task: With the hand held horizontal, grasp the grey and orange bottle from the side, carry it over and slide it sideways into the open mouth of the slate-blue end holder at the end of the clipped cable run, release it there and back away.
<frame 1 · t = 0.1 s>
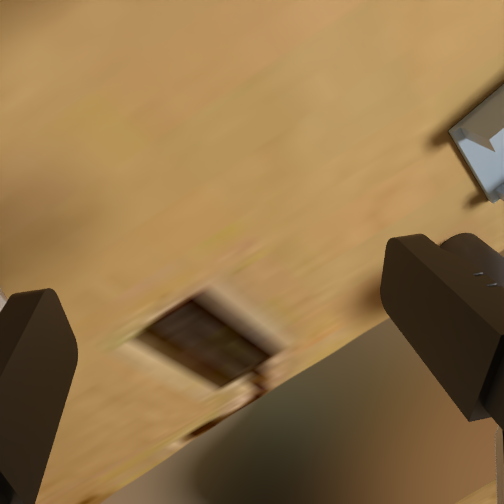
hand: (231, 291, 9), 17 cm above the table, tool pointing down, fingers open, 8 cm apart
grey and orange bottle: (456, 253, 34), on the table
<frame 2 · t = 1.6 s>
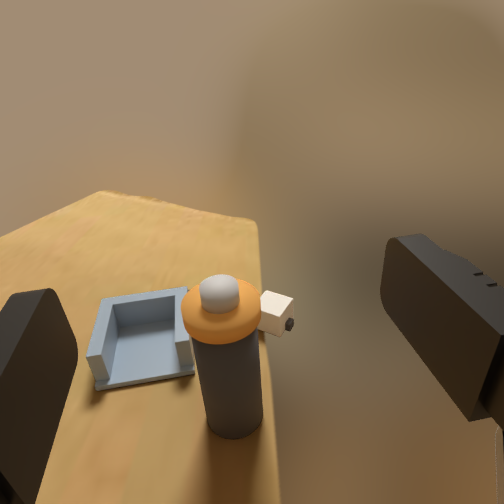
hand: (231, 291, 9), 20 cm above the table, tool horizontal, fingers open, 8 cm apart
end holder: (149, 347, 36), on the table
grey and orange bottle: (234, 412, 29), on the table
routed cable: (216, 307, 38), on the table
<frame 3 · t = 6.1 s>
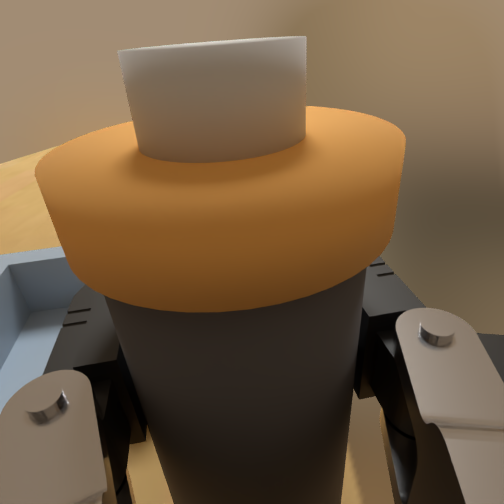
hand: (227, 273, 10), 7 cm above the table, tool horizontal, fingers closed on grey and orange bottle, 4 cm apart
end holder: (80, 350, 18), on the table
when the fingers open (8 cm above the table, at t = 11.8 s): grey and orange bottle stays where it is, resting on end holder.
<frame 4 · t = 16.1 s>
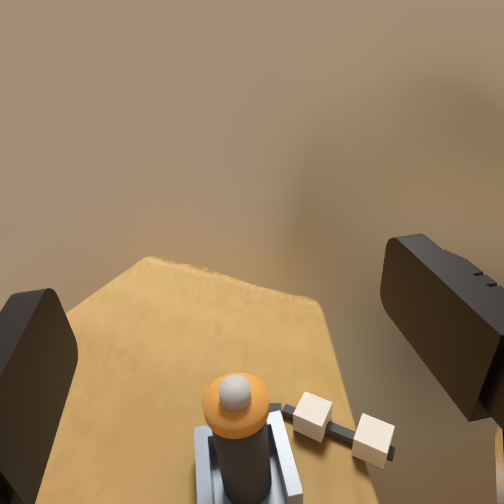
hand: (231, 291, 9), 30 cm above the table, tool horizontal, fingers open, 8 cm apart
end holder: (247, 483, 34), on the table
grey and orange bottle: (247, 481, 34), point 1 cm above the table, touching end holder
routed cable: (310, 431, 37), on the table
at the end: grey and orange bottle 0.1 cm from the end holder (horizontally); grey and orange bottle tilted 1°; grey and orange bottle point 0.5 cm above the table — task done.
